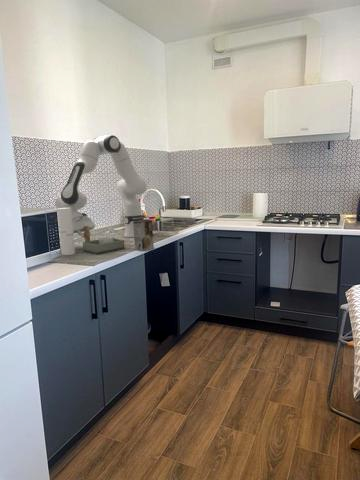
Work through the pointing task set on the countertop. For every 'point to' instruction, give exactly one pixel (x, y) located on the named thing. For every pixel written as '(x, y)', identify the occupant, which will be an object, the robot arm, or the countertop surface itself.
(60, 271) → the countertop surface
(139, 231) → the coffee box
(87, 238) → the brown wooden cylinder
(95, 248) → the grey open box
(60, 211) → the cylindrical container
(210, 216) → the countertop surface
